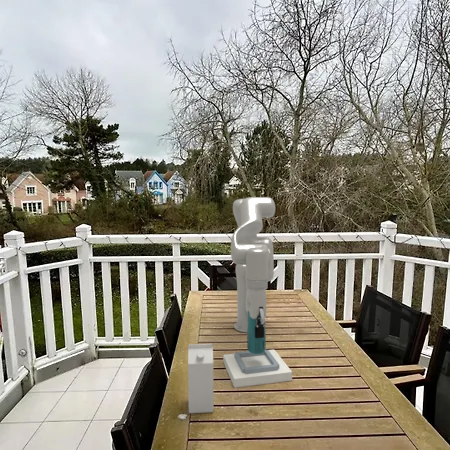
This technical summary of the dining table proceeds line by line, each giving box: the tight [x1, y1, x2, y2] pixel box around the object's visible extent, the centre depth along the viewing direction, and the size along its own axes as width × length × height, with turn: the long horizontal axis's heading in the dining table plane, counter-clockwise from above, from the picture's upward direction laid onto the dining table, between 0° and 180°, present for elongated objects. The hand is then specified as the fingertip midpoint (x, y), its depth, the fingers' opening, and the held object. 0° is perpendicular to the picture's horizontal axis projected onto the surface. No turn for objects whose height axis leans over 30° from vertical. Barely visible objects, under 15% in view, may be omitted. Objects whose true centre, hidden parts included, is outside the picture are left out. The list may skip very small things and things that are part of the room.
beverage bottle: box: [246, 311, 267, 354], centre depth 121 cm, size 6×7×20 cm
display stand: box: [222, 348, 293, 389], centre depth 123 cm, size 17×20×4 cm
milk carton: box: [187, 343, 214, 414], centre depth 102 cm, size 7×7×19 cm
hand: (256, 333), depth 122 cm, fingers closed on beverage bottle, 6 cm apart
